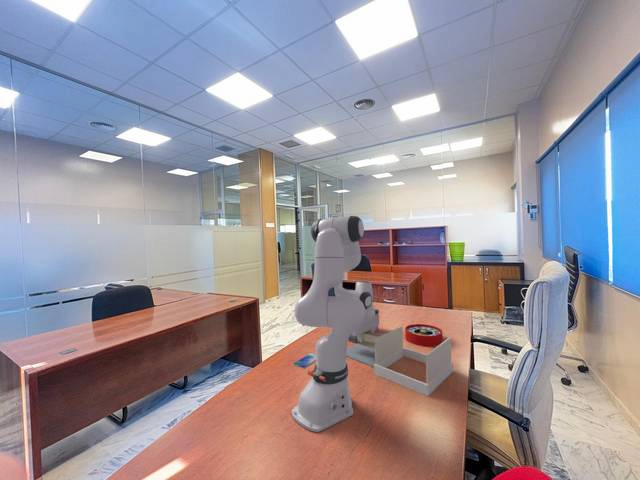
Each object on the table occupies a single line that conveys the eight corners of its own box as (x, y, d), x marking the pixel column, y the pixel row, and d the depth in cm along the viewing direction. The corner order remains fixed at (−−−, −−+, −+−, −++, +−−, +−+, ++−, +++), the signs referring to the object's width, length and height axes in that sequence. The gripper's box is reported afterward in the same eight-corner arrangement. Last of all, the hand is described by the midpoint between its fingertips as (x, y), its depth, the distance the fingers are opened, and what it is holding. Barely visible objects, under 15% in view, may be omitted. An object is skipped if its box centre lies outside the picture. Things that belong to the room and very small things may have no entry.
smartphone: (322, 355, 135) (304, 368, 122) (322, 357, 135) (304, 370, 122) (311, 352, 139) (292, 363, 127) (311, 353, 139) (292, 365, 127)
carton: (427, 396, 99) (426, 356, 99) (374, 373, 116) (373, 339, 116) (453, 371, 116) (452, 337, 116) (402, 354, 133) (402, 325, 133)
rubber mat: (377, 369, 120) (377, 367, 120) (338, 353, 137) (338, 352, 137) (396, 357, 131) (396, 356, 131) (357, 344, 148) (357, 343, 148)
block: (377, 351, 126) (377, 338, 125) (348, 341, 139) (348, 329, 138) (385, 347, 130) (384, 334, 130) (356, 337, 143) (356, 326, 143)
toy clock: (410, 336, 143) (401, 324, 163) (411, 347, 143) (401, 333, 163) (448, 336, 142) (434, 323, 162) (448, 346, 142) (434, 333, 162)
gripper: (356, 318, 125) (357, 347, 125) (381, 309, 139) (381, 335, 139) (346, 316, 129) (347, 344, 130) (371, 307, 144) (371, 332, 144)
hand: (365, 339), depth 135 cm, fingers closed on block, 5 cm apart
